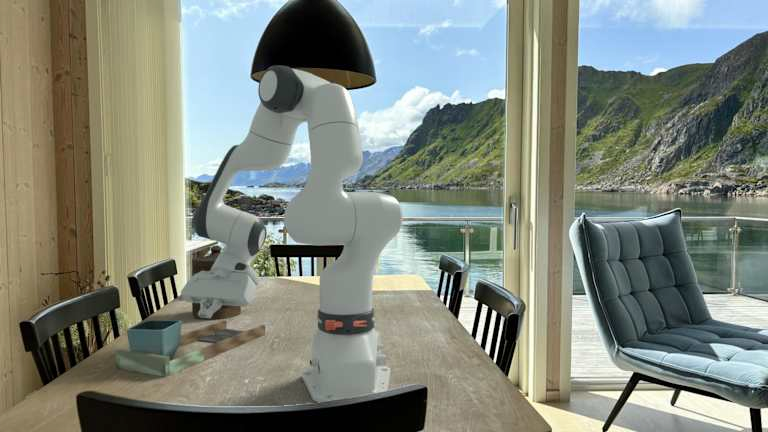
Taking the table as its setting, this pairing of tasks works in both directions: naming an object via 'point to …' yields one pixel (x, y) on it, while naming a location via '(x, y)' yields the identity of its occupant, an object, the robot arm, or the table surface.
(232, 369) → the table surface
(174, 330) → the flower pot
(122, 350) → the channel
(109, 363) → the table surface
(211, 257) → the wooden container
